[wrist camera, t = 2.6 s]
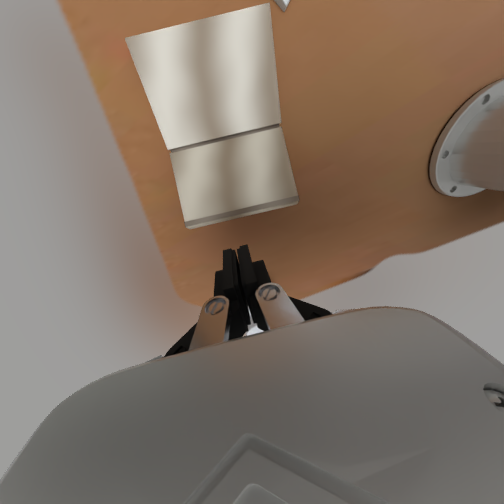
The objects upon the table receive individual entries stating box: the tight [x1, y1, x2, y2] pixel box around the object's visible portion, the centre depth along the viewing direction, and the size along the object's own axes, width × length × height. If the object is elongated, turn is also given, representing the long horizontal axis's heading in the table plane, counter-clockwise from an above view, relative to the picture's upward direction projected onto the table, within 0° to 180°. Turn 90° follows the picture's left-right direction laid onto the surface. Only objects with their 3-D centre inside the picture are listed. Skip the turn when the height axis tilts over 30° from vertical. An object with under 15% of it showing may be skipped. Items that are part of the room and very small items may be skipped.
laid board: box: [125, 3, 281, 153], centre depth 17 cm, size 12×9×1 cm
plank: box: [170, 127, 299, 229], centre depth 19 cm, size 12×8×1 cm
